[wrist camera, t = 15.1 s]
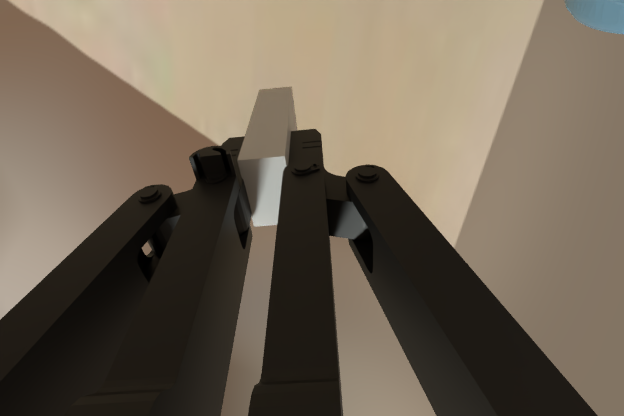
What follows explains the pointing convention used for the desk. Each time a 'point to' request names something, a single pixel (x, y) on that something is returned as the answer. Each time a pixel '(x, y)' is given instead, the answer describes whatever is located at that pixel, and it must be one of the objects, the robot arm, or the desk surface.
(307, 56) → the desk surface
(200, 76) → the desk surface
